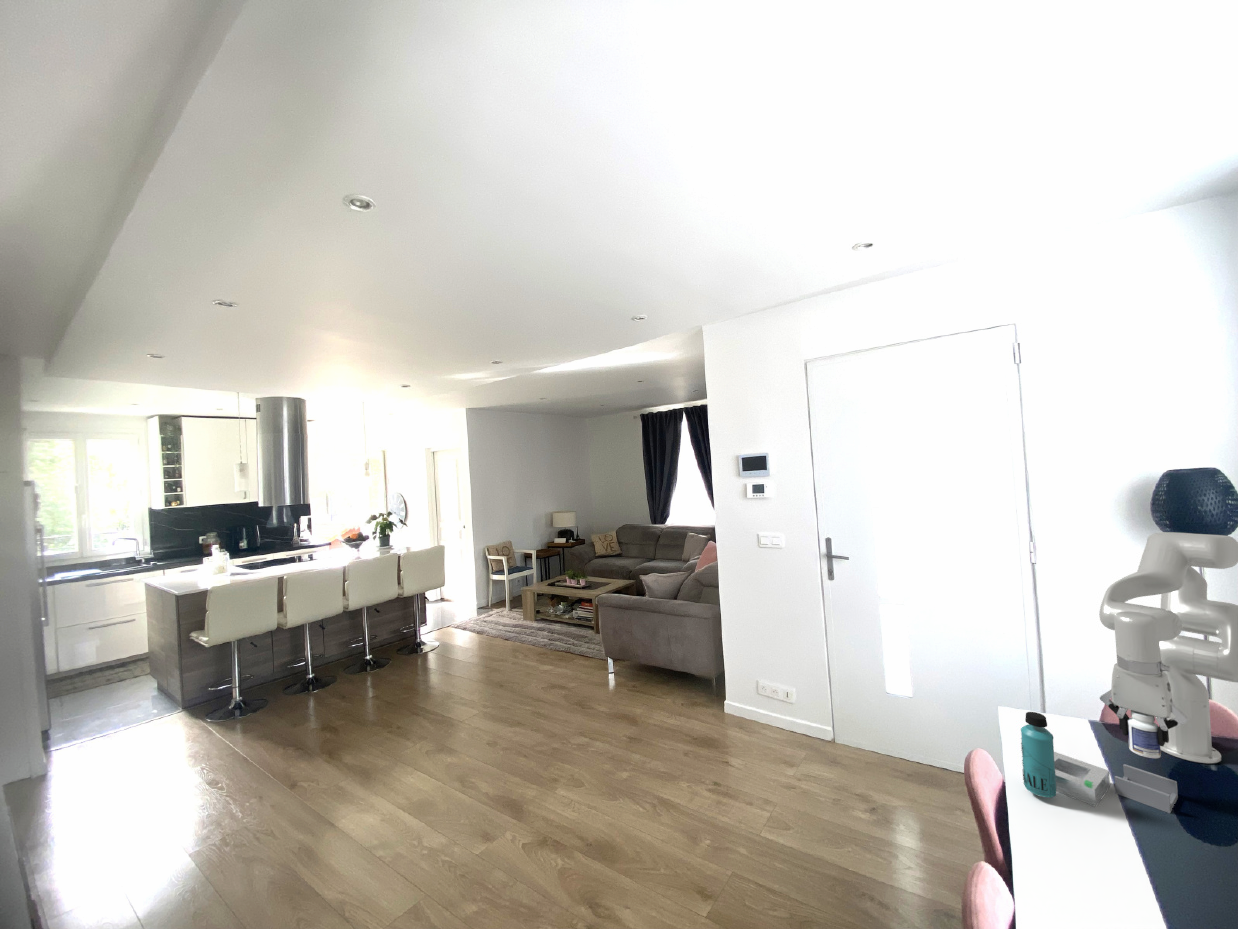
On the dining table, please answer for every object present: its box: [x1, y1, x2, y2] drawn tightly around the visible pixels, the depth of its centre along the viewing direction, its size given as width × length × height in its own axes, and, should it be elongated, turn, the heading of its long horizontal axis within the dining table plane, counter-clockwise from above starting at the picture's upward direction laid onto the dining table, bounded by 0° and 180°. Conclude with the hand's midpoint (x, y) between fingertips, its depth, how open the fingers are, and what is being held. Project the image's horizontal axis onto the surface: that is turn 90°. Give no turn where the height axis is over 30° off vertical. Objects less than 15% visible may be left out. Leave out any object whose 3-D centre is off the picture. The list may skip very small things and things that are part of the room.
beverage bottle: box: [1020, 711, 1057, 798], centre depth 123 cm, size 6×7×20 cm
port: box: [1054, 751, 1111, 807], centre depth 127 cm, size 12×12×5 cm
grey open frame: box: [1114, 763, 1179, 814], centre depth 122 cm, size 9×9×4 cm
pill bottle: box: [1127, 710, 1162, 759], centre depth 122 cm, size 5×5×10 cm
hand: (1143, 737), depth 122 cm, fingers closed on pill bottle, 5 cm apart
